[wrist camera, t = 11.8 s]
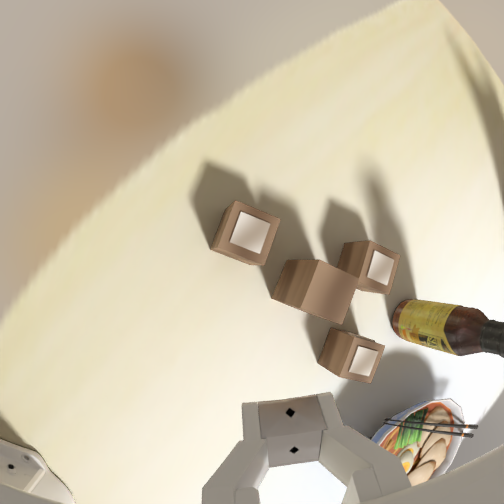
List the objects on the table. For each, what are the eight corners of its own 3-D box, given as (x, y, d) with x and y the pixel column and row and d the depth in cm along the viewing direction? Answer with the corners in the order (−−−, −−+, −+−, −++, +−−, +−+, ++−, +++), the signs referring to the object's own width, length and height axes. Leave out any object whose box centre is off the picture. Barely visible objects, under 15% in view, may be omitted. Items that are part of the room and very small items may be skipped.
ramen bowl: (301, 493, 39) (322, 523, 31) (370, 369, 42) (405, 386, 34) (401, 494, 45) (424, 513, 37) (456, 396, 48) (486, 408, 40)
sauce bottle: (384, 334, 43) (494, 366, 24) (397, 293, 43) (510, 306, 24) (413, 342, 44) (516, 371, 25) (425, 304, 45) (530, 318, 26)
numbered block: (210, 249, 37) (217, 247, 31) (225, 207, 38) (236, 197, 32) (249, 264, 38) (265, 265, 32) (264, 223, 39) (282, 217, 33)
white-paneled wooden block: (333, 279, 41) (358, 281, 35) (344, 241, 41) (371, 238, 35) (362, 291, 42) (390, 294, 36) (373, 254, 43) (401, 253, 37)
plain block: (271, 298, 39) (300, 308, 30) (286, 260, 39) (319, 259, 31) (306, 312, 40) (341, 324, 31) (320, 275, 40) (359, 278, 32)
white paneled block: (317, 362, 40) (340, 377, 34) (330, 326, 41) (356, 335, 35) (346, 370, 41) (371, 384, 35) (359, 335, 42) (386, 344, 36)
